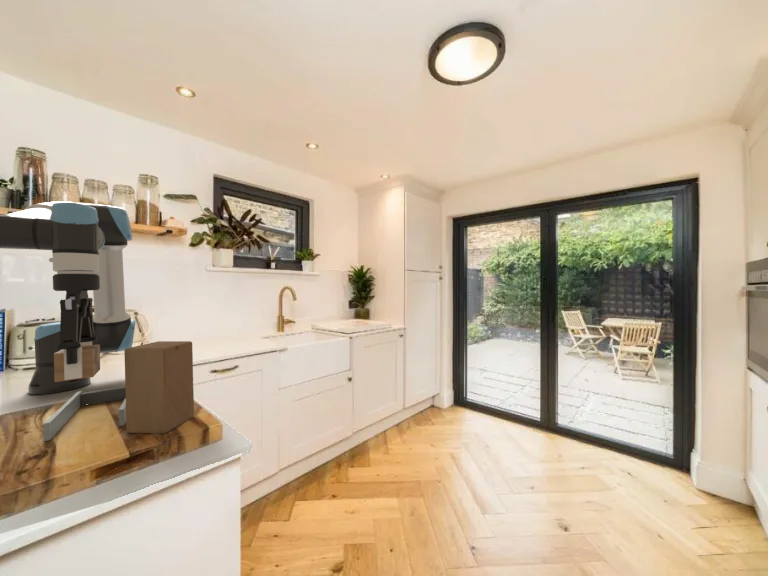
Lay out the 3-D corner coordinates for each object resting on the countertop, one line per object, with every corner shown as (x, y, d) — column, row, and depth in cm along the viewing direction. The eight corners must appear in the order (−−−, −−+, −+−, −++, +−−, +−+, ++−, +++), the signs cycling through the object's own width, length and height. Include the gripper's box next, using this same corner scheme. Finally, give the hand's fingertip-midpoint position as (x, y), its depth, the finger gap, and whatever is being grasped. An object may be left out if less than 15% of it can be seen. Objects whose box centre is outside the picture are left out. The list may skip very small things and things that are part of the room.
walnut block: (65, 373, 72) (64, 347, 72) (100, 369, 75) (99, 344, 75) (54, 382, 65) (53, 353, 65) (93, 377, 69) (92, 350, 69)
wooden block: (194, 416, 82) (193, 341, 82) (164, 434, 72) (162, 348, 72) (160, 415, 83) (158, 341, 83) (125, 433, 73) (123, 348, 73)
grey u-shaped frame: (77, 405, 92) (77, 391, 92) (137, 395, 100) (137, 382, 100) (43, 441, 70) (43, 423, 70) (124, 425, 78) (123, 409, 78)
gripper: (68, 274, 77) (71, 366, 77) (33, 271, 59) (37, 389, 60) (108, 275, 81) (110, 362, 81) (87, 271, 63) (90, 382, 64)
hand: (79, 373), depth 70 cm, fingers closed on walnut block, 8 cm apart
